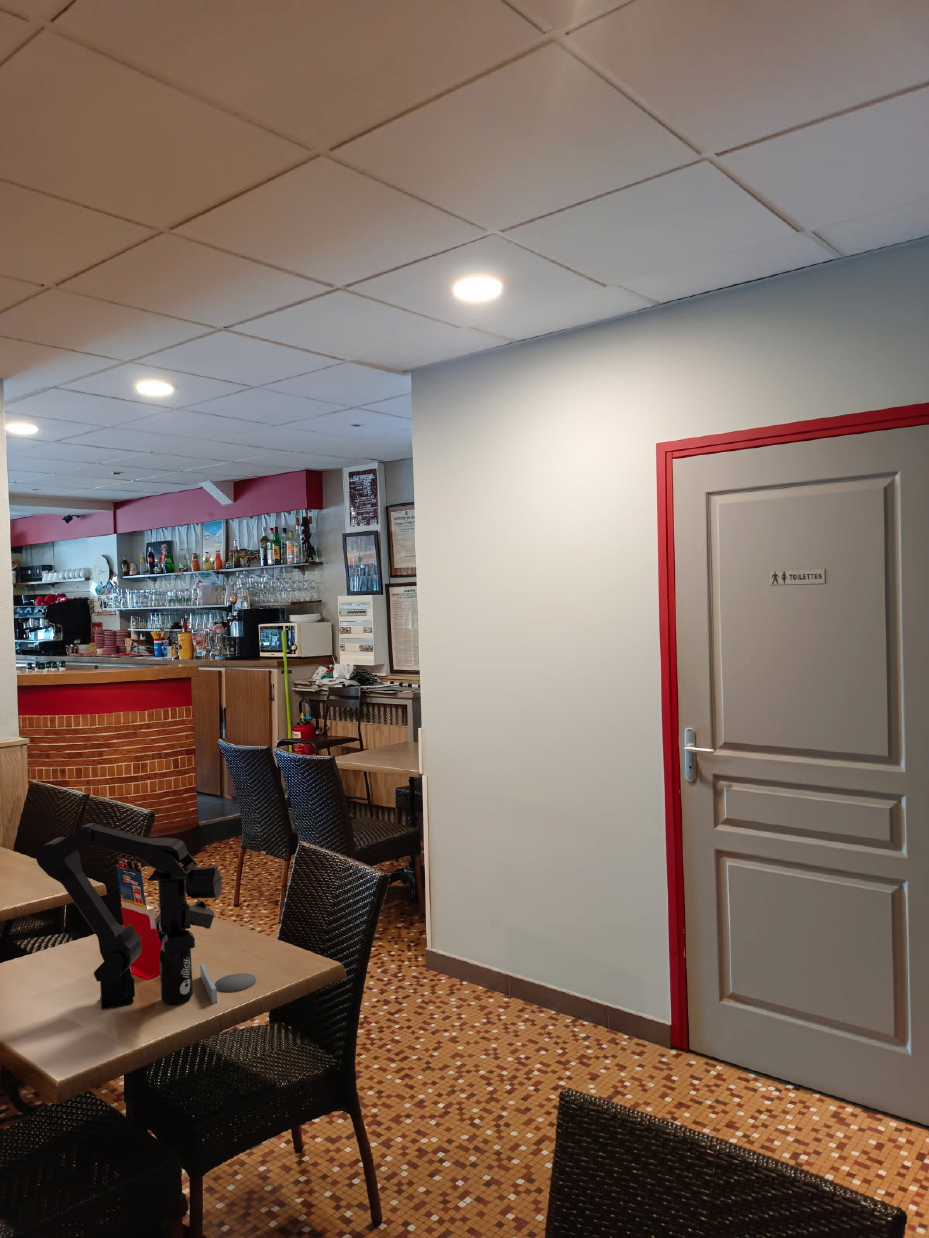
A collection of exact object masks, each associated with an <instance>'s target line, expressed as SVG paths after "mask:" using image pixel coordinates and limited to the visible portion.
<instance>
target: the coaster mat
mask: <svg viewBox="0 0 929 1238" xmlns="http://www.w3.org/2000/svg"><path fill="white" fill-rule="evenodd" d="M256 982H257V977H256V976H255V975H254V974H250V973H243V972H242V973H241V972H239V973H234V974H228V975H225V976H223V977H220V978H219V979H218V980H216V981H215V982H214V984H215V986H216V989H217V991H219V992H224V993H234V992H233V991H235V992H240V991H239V990H241V991H243V990H242V989H244V990H247V989H249V988H251V987H252V985H253V986H254V985H255V984H256ZM250 986H251V987H250ZM246 988H247V989H246Z"/></svg>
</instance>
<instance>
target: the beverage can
mask: <svg viewBox="0 0 929 1238" xmlns="http://www.w3.org/2000/svg"><path fill="white" fill-rule="evenodd" d="M162 947H163V945H162V944H161V947H160V949H161V950H160V952H159V953H158V955H159V959H158V960H159V974H160V975H159V976H160V980H159V981H160V997H161V998H160V999H161V1001H162V1002H164V1004H166V1005H169V1006H176V1005H181V1004H185V1003H186V1002H188V1001H190V999H191V998H192V996H193V995H194V990H193V968H192V967H193V966H192V949H189V950H188V951H187V952H186V953H185V957H184V961H183V966H182V971H181V975H180V976H175V974H174V972H173V970H172V968H171V966H170V964H169V961H168V959H167V957H166V955H165V953H164V951H163V948H162Z"/></svg>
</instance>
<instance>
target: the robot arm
mask: <svg viewBox="0 0 929 1238" xmlns="http://www.w3.org/2000/svg"><path fill="white" fill-rule="evenodd" d="M85 846H91V847H95V848H99V849H103V850H107V851H110V852H114V853H118V854H122V855H126V856H128V857H129V856H130V857H133V858H137V859H140V860H142V861H143V863H145V864H146V865H148V866H149V867H151V868H153V869H154V871H153V872H152V873H151V874H150V876H149V877H147V881H148V882H157V888H158V890H157V891H158V902H157V908H158V910H159V911H158V913H159V914H158V915H156V917H155V918H154V927H155V931H156V934H157V937H158V939H159V942H160V944H161V946H162V945H163V947H162V948H163V951H164V953H165V955H166V957H167V959H168V961H169V964H170V966H171V968H172V970H173V972H174V974H175V976H180V975H181V971H182V966H183V961H184V957H185V953H186V952H187V951H188V950H189V949H191V950H192V949H194V948H196V941H195V940H196V938H195V936H194V934H193V932H191V931H190V930H188V929H191V928H192V927H191V926H196V927H202V928H204V929H207V930H208V929H209V930H210V929H211V928H212V924H213V920H214V917H215V912H214V911H213V909H211V908H210V907H207V905H206V902H205V901H204V900H202V899H219V898H220V896H221V893H222V886H223V879H222V876H221V873H220V871H219V867H218V865H210V866H198V865H199V864H198V862H197V861H196V860H195V859H194V857H193V856H192V855H191V854H190V853H189V852H188V849H187V846H186V844H185V842H184V841H183V840H181V839H179V838H173V837H172V838H171V837H153V838H152V837H146V836H141V835H137V834H135V833H134V834H133V833H131V832H130V833H129V832H126V831H122V830H118V829H114V828H110V827H106V826H103V825H100V824H98V823H95V822H90V823H86V824H85V825H83V826H82V827H80V828H79V829H78V830H77V831H75V832H73V833H72V834H70V835H69V836H67V837H65V836H59V837H57V838H56V837H55V838H54V839H52V840H51V841H49V842H47V843H46V844H44V845H42V846H41V847H40V848H39V849H38V851H37V853H36V857H35V861H36V862H37V863H36V864H37V865H38V867H39V868H40V869H41V870H42V871H43V872H44V873H45V874H46V875H47V876H48V877H50V878H52V879H53V880H55V881H57V882H58V883H60V884H61V885H62V886H63V888H64V889H65V890H66V893H67V894H68V895H69V896H70V898H71V900H72V901H73V903H74V904H75V905H76V907H77V908H78V910H79V911H80V913H81V915H82V916H83V918H84V919H85V921H86V922H87V924H88V925H89V927H90V928H91V930H92V931H93V932H94V934H95V936H96V937H97V941H98V947H99V954H100V955H101V957H102V960H103V962H101V964H100V965H99V966H98V967H97V968H96V969H95V970H94V971H93V976H94V979H95V980H96V982H99V986H100V987H99V988H100V991H99V992H100V997H99V1000H100V1002H99V1003H100V1007H101V1010H107V1009H112V1008H116V1007H121V1006H125V1005H129V1004H133V1003H134V1002H135V1001H134V998H135V997H136V989H135V988H136V987H135V977H134V974H132V970H131V967H132V966H134V964H135V961H136V960H137V959H138V957H140V955H141V954H142V948H143V945H142V942H141V939H142V937H141V936H140V935H138V933H137V932H136V930H135V928H134V926H133V925H132V924H128V925H127V926H124V925H123V924H120V923H118V921H117V920H116V919H115V917H114V915H113V914H112V912H111V911H110V909H109V908H108V907H107V905H106V903H105V902H104V901H103V899H102V898H101V896H100V894H99V892H97V890H96V888H95V887H94V885H93V884H92V883H91V881H90V880H89V878H88V877H87V875H86V873H85V872H84V870H83V867H82V862H81V856H80V853H79V850H80V849H81V848H83V847H85ZM181 864H182V866H181ZM187 897H190V899H193V900H195V899H196V900H197V901H196V902H195V903H193V904H191V905H190V904H189V903H188V900H187ZM198 899H199V900H198ZM200 899H201V900H200Z"/></svg>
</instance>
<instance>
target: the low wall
mask: <svg viewBox="0 0 929 1238" xmlns="http://www.w3.org/2000/svg"><path fill="white" fill-rule="evenodd" d="M199 970H200V972H199V973H200V978H201V981H202V982H203V986H204V985H205V986H204V987H205V990H206V993H207V995H208V997H209V998H210V1001H211V1003H212V1004H217V1003H218V994H217V991H218V990H217V989H216V986H215V982H214V981H213V978H212V976H211V974H210V972H209V970H208V967H207V965H206V964H205V962H203V963H200V964H199Z"/></svg>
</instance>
